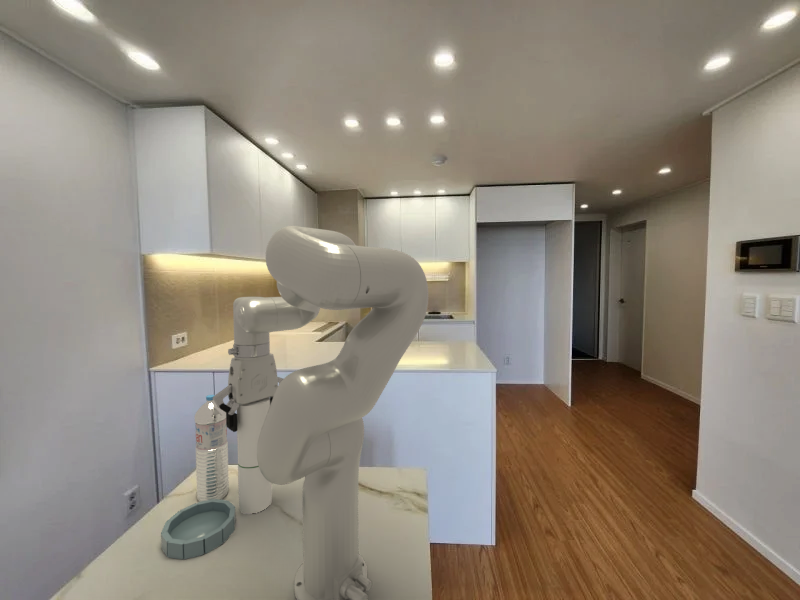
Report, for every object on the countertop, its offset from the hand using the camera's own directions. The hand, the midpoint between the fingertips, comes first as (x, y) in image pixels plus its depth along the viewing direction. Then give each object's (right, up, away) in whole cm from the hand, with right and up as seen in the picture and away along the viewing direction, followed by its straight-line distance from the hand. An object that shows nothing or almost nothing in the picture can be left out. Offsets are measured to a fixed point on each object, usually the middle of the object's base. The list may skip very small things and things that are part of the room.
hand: (253, 422), depth 79 cm
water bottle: (-12, -20, +4) cm, 23 cm away
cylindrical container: (0, -20, +1) cm, 20 cm away
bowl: (-7, -20, -8) cm, 23 cm away
